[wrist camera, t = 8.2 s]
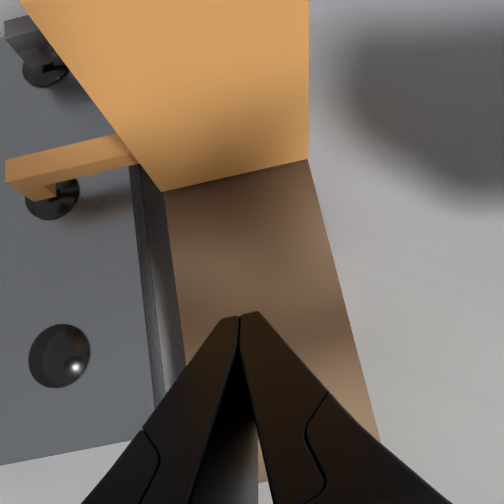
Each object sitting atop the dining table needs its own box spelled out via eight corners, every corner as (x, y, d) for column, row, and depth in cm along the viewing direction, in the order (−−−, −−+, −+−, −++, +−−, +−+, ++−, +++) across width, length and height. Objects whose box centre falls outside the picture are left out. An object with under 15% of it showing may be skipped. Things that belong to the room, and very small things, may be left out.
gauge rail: (389, 448, 16) (604, 609, 4) (74, 506, 16) (-450, 779, 5) (274, 10, 22) (240, -382, 11) (52, 65, 23) (-196, -249, 12)
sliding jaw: (308, 161, 17) (309, -71, 8) (34, 223, 18) (-226, 67, 9) (292, 99, 18) (278, -168, 9) (32, 160, 19) (-205, -36, 10)
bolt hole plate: (169, 431, 17) (156, 435, 15) (0, 463, 17) (-30, 471, 16) (123, 32, 23) (110, 7, 22) (-1, 63, 23) (-22, 41, 22)
